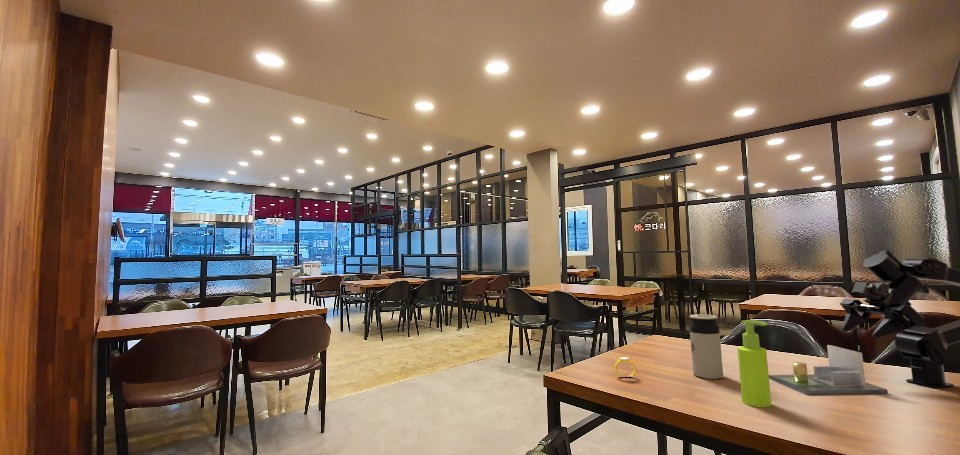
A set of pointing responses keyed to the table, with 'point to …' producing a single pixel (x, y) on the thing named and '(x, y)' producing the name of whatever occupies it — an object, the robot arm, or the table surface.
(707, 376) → the travel mug
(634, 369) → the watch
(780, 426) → the table surface
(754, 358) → the soap dispenser
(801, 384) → the base
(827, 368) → the grey bracket
